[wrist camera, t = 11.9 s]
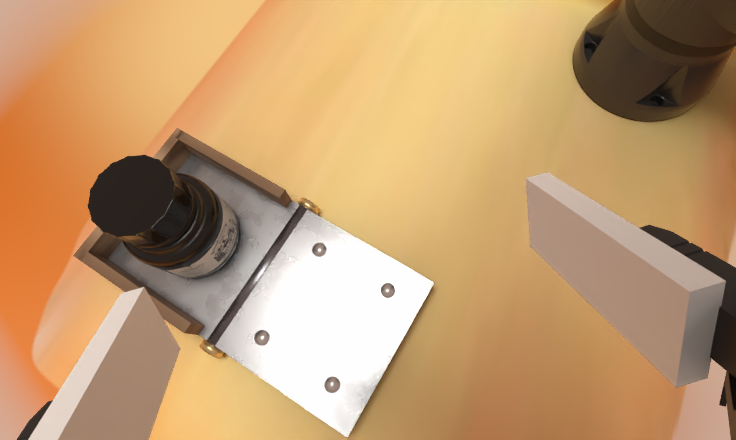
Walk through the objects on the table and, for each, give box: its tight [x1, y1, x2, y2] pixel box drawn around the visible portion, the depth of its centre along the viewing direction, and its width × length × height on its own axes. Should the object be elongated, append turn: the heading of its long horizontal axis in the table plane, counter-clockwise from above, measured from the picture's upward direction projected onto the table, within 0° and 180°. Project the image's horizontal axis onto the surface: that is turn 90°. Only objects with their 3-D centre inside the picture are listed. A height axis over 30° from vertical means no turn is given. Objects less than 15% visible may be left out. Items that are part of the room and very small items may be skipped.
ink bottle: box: [88, 155, 239, 278], centre depth 38 cm, size 10×9×12 cm
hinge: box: [108, 153, 434, 437], centre depth 43 cm, size 18×31×3 cm, turn 59°
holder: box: [73, 128, 292, 335], centre depth 43 cm, size 16×14×3 cm
